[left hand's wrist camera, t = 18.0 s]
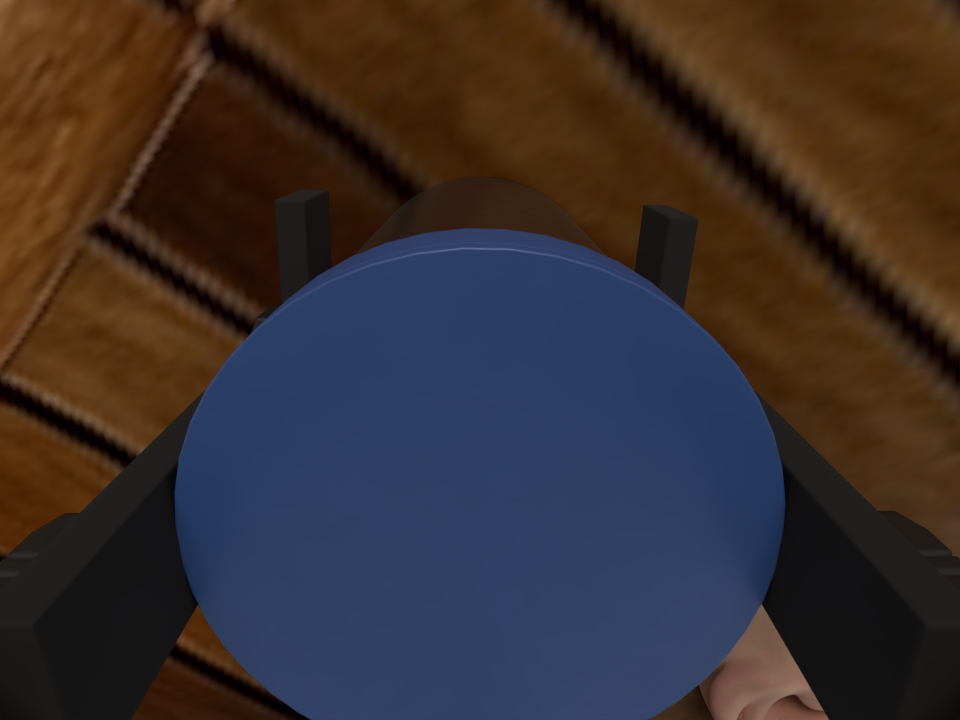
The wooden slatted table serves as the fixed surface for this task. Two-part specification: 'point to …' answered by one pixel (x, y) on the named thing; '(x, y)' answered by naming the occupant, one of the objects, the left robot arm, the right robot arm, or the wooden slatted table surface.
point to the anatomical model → (760, 680)
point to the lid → (479, 489)
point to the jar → (479, 212)
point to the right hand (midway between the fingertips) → (486, 203)
